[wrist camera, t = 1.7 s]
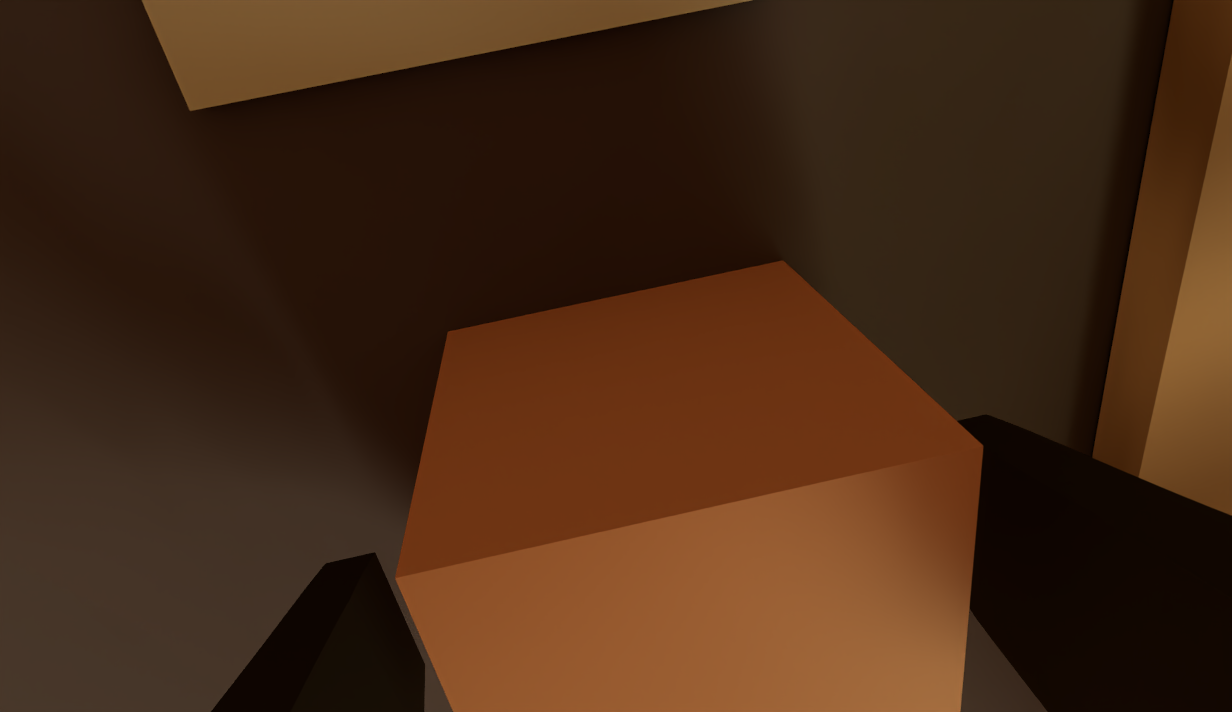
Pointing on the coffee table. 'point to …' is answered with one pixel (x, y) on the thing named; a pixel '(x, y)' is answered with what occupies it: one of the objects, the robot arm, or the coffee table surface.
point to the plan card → (361, 37)
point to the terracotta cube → (690, 511)
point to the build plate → (1180, 278)
